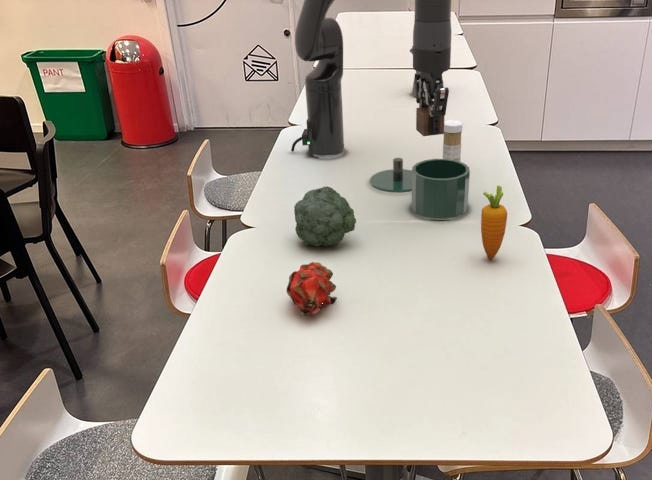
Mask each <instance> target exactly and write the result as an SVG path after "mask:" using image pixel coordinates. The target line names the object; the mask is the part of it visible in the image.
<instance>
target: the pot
mask: <svg viewBox="0 0 652 480" xmlns="http://www.w3.org/2000/svg"><path fill="white" fill-rule="evenodd" d="M411 170H412V191H411V210H412V211H413V212H414V213H415V214H416V215H418V216H421V217H422V218H428V219H431V221H432V222H447V221H448V222H449V219H453V218H457V217H460V216H462V215H464V214H465V213H466V212H467V211H468V208H469V207H468V206H469V193H470V192H469V189H470V173H471V170H470V167H469V166H468V165H467V164H466V163H465V162H463V161H460V162H459V161H456V160H450V159H443V158H431V159H425V160H421V161H419V162H416V163H414V165H412V167H411Z"/></svg>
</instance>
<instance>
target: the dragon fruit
mask: <svg viewBox="0 0 652 480" xmlns="http://www.w3.org/2000/svg"><path fill="white" fill-rule="evenodd" d="M333 275H334V273H333V271H332V270H331V269H329V268H327V267H326V266H325V265H323V264H322V263H320V262H318V261H317V262H314V261H311V262H309V263H308V264H307V263H306V264H305V263H304V264H301V265H300V266H299V269H298V270H295V271H293V272H291V274H290V275H289V276H288V283H287V286H286V294H287V295H288V296H289V298H290V300H291V302H292V303H293V305H295V306H296V307H297V308H298V309H299V310H300V312H301V314H302V315H304V316H306V317H308V314H312V315H315V314H317V312H318V313H320V311H321V310H319V309H320V307H322V308H325V307H327V306H330V305H335V303H336V302H337V300H338V296H331V293H333V292H334V291H335V290H336V289H337V285H336V284H334V283H333V282H332V281H331V279H332V278H333ZM322 303H323V304H322Z"/></svg>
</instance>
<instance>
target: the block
mask: <svg viewBox="0 0 652 480" xmlns="http://www.w3.org/2000/svg"><path fill="white" fill-rule="evenodd" d="M437 110H438V108H437ZM415 112H416V114H415V130H416V132H418V133H419V134H420V135H421V136H422V137H431V136H432V135H430V134H429V117H430V116H429V107H421V108H419V107H416V108H415ZM444 122H445V116H440V133H439V134H438V136H439V135H444Z"/></svg>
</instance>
